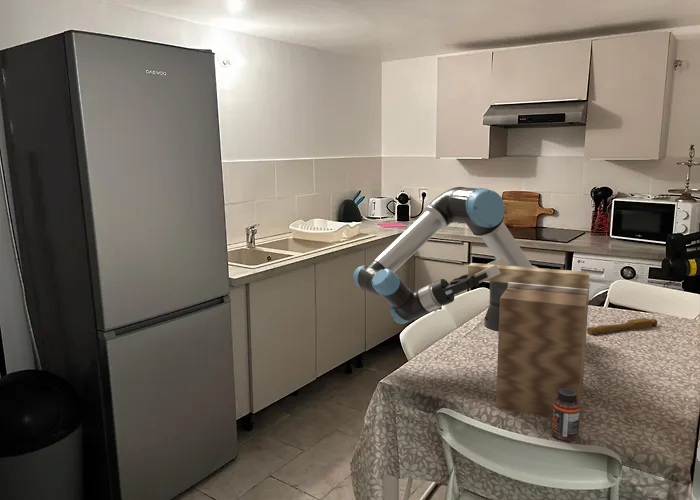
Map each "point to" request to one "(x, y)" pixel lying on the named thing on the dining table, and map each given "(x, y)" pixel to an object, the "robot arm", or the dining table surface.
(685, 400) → the dining table surface
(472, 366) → the dining table surface
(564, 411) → the supplement bottle
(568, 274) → the beech bar
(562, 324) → the brown wavy patterned box
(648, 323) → the wooden spindle
